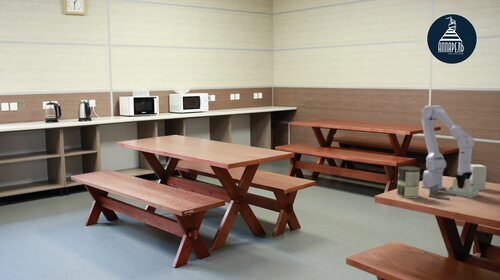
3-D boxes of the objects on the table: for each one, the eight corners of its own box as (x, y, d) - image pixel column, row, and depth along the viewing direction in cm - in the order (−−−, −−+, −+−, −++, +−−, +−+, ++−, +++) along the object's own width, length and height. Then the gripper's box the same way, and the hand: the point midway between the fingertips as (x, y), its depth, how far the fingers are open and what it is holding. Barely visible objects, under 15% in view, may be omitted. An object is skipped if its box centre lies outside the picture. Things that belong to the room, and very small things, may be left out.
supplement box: (485, 190, 260) (487, 166, 259) (471, 189, 261) (473, 166, 259) (479, 187, 268) (481, 164, 266) (465, 186, 268) (467, 163, 266)
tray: (445, 193, 251) (445, 189, 250) (451, 190, 258) (452, 186, 258) (473, 198, 242) (473, 193, 242) (478, 194, 250) (478, 190, 250)
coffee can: (393, 196, 243) (395, 168, 242) (400, 192, 252) (402, 165, 250) (414, 199, 238) (416, 170, 236) (421, 195, 246) (423, 167, 244)
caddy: (452, 192, 251) (453, 179, 250) (455, 190, 255) (456, 177, 254) (471, 195, 245) (472, 181, 244) (474, 193, 249) (475, 180, 248)
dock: (429, 196, 243) (429, 186, 243) (436, 192, 252) (437, 183, 251) (449, 200, 237) (450, 190, 237) (456, 196, 246) (457, 186, 245)
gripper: (469, 163, 240) (466, 190, 242) (477, 159, 251) (474, 185, 253) (454, 161, 244) (452, 188, 246) (462, 158, 256) (460, 183, 257)
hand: (462, 187), depth 250 cm, fingers open, 7 cm apart
